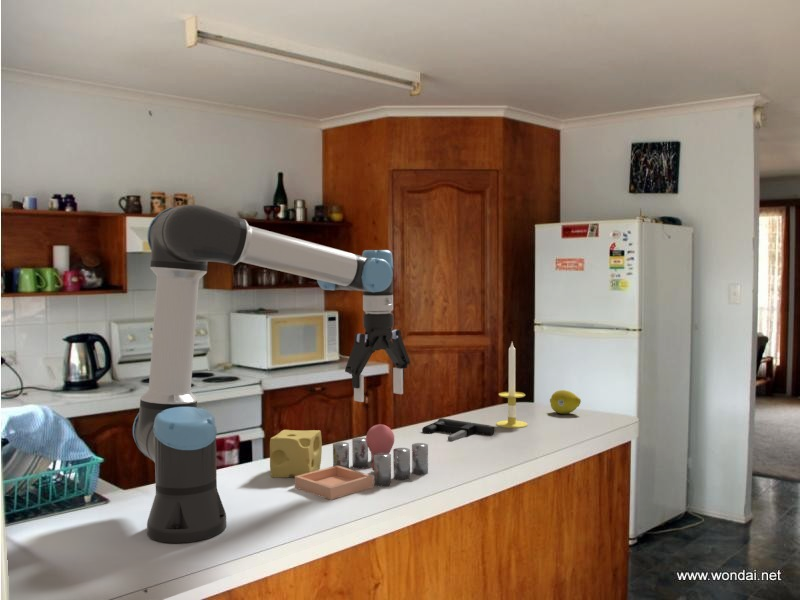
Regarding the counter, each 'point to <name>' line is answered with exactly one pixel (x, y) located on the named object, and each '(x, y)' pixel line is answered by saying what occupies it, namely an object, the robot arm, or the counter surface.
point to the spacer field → (383, 460)
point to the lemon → (564, 402)
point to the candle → (511, 396)
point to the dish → (333, 482)
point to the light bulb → (379, 440)
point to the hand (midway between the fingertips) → (379, 397)
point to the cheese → (295, 453)
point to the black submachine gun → (458, 428)
